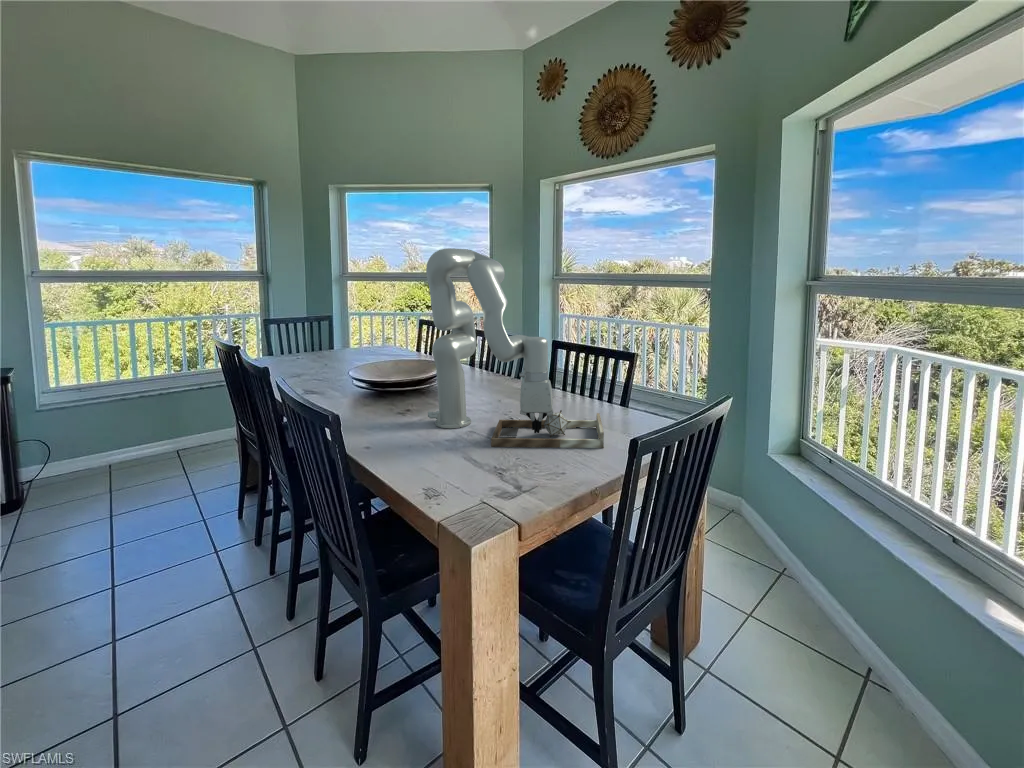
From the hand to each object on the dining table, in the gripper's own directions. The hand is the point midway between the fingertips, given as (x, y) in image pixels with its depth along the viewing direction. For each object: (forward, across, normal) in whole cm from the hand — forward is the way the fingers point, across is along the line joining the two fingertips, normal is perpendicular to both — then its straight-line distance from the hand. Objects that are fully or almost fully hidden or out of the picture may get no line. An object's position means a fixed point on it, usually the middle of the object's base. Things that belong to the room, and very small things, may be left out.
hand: (536, 431), depth 162 cm
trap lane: (+2, +4, 0) cm, 4 cm away
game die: (+2, +6, +1) cm, 6 cm away
